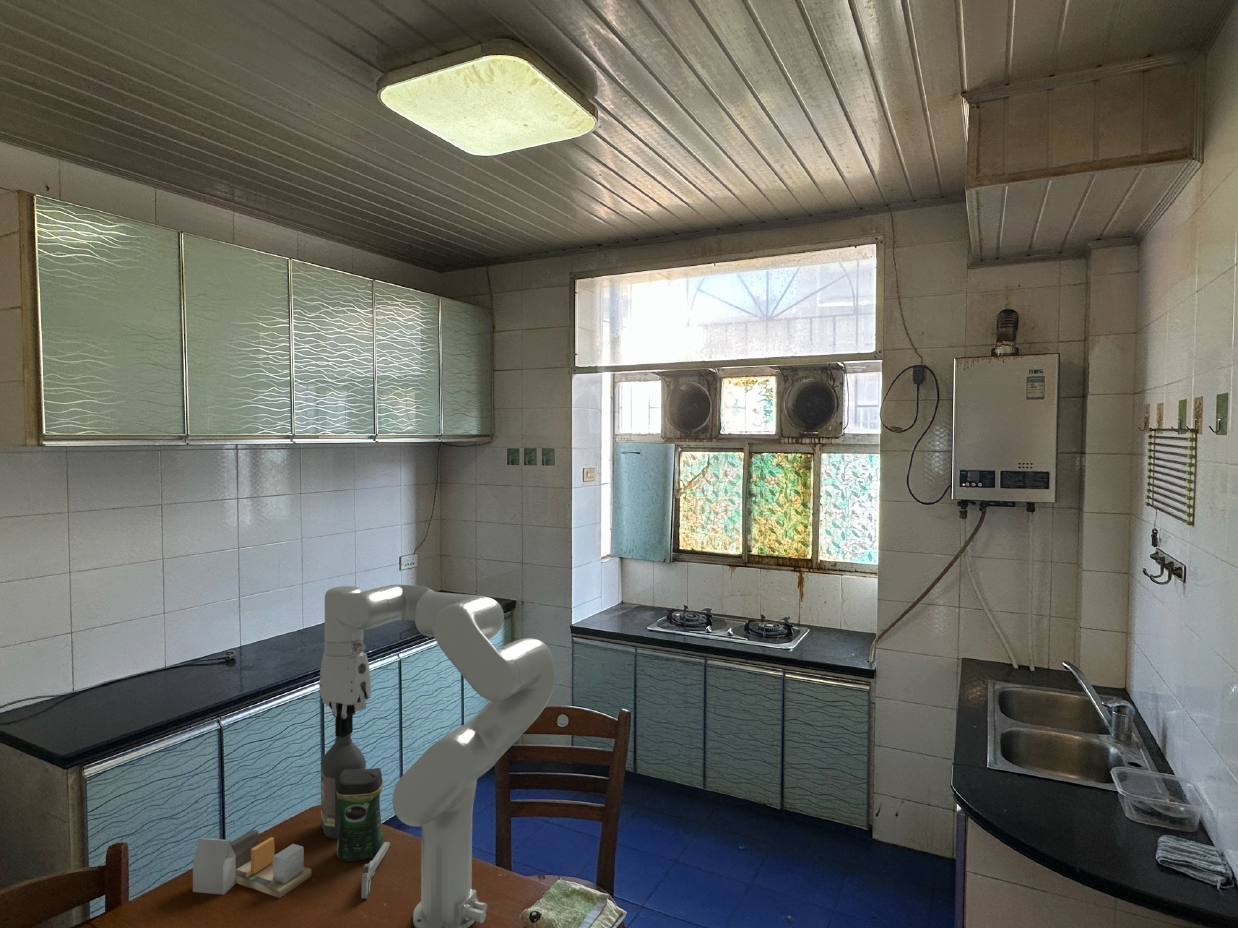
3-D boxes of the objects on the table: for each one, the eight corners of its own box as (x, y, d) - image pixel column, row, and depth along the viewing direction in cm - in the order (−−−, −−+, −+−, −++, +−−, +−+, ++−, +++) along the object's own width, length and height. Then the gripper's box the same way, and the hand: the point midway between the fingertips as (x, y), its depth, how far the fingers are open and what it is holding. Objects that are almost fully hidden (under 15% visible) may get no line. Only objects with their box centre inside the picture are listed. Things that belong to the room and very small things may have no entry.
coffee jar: (386, 841, 162) (386, 761, 162) (378, 861, 155) (378, 777, 154) (342, 843, 161) (342, 763, 161) (332, 863, 154) (332, 779, 153)
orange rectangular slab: (274, 860, 151) (274, 837, 151) (248, 877, 145) (248, 853, 145) (271, 859, 152) (271, 836, 151) (244, 876, 146) (244, 852, 145)
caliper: (366, 901, 141) (366, 870, 141) (361, 901, 141) (361, 870, 141) (390, 844, 162) (390, 817, 162) (385, 844, 162) (385, 817, 161)
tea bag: (223, 894, 143) (223, 845, 143) (192, 891, 144) (192, 843, 143) (235, 883, 146) (235, 835, 146) (205, 880, 147) (205, 833, 147)
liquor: (359, 814, 175) (359, 693, 174) (367, 830, 167) (367, 705, 166) (319, 824, 170) (319, 700, 169) (326, 841, 162) (326, 712, 162)
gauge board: (311, 875, 149) (311, 843, 149) (279, 897, 142) (279, 863, 142) (256, 858, 155) (256, 827, 155) (224, 878, 148) (224, 845, 148)
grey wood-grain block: (303, 870, 148) (303, 846, 148) (283, 883, 143) (283, 859, 143) (293, 866, 149) (293, 843, 149) (273, 879, 144) (273, 855, 144)
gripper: (385, 646, 147) (385, 734, 147) (330, 638, 152) (330, 722, 153) (358, 656, 140) (358, 747, 140) (302, 647, 146) (302, 735, 146)
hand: (344, 734), depth 146 cm, fingers closed
